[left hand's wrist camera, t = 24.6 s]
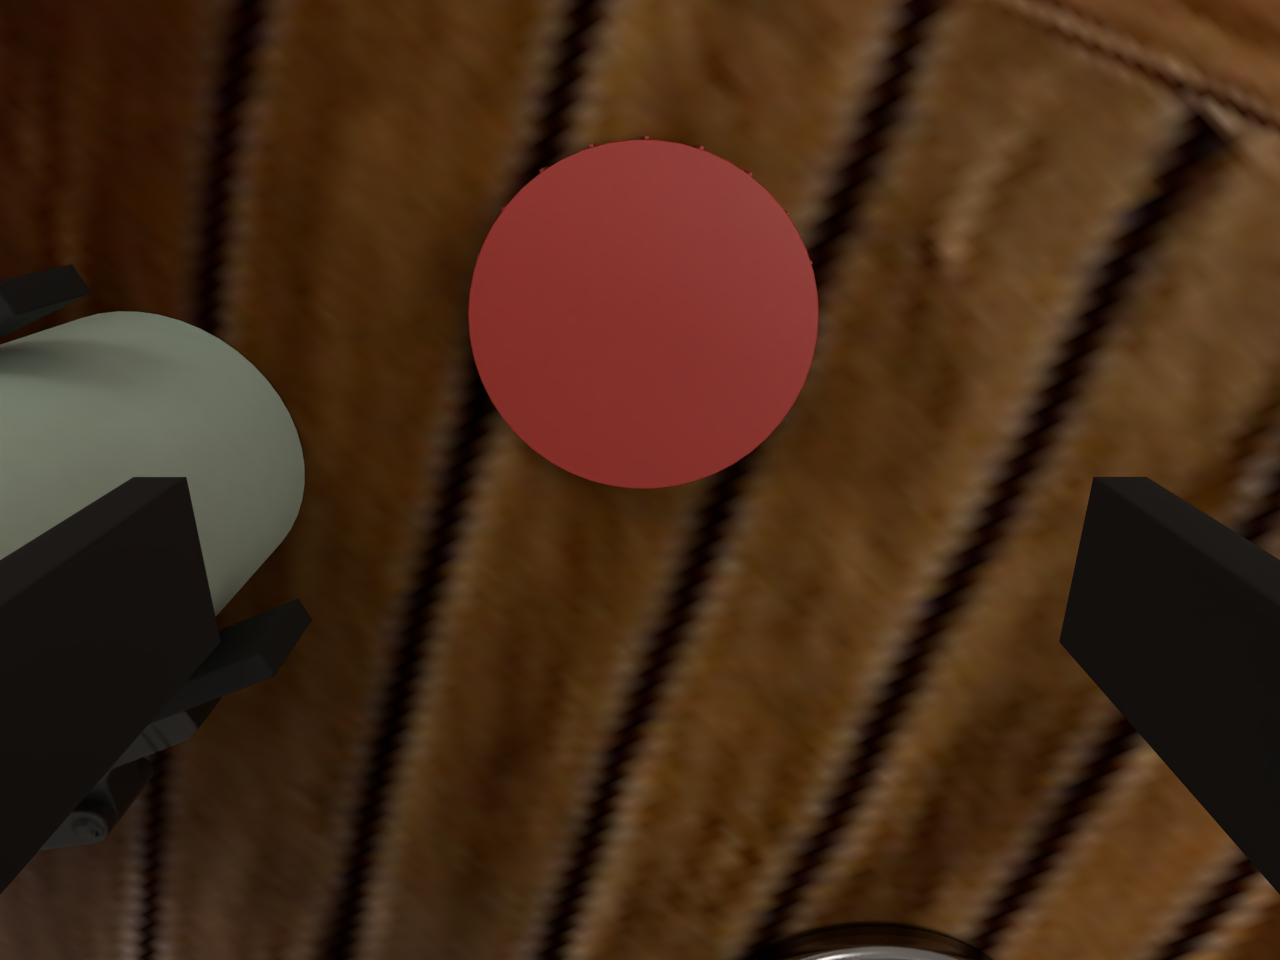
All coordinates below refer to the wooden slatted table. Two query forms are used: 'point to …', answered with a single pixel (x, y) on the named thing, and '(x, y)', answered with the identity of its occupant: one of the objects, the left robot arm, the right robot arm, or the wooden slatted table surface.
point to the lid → (643, 313)
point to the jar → (147, 435)
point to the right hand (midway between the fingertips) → (175, 476)
